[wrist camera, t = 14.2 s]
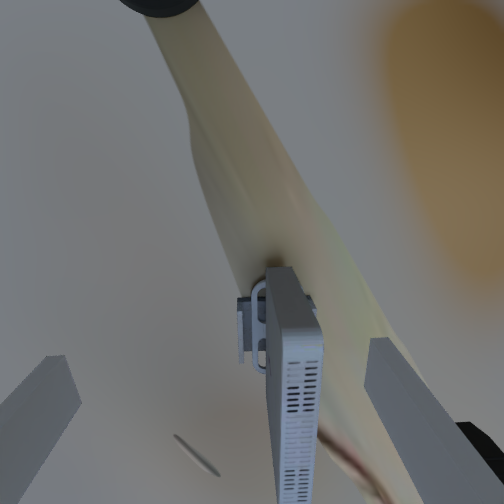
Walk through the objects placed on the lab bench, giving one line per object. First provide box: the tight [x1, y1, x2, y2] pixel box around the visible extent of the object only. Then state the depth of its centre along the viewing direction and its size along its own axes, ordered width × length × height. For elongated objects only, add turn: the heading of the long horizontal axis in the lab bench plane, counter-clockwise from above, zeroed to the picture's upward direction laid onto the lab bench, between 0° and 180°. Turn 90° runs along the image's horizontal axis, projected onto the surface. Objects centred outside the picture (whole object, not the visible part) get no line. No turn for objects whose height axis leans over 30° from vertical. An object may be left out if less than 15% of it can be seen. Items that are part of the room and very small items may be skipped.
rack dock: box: [237, 295, 317, 363], centre depth 46 cm, size 10×13×4 cm
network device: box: [251, 267, 324, 504], centre depth 37 cm, size 26×9×20 cm, turn 1°
